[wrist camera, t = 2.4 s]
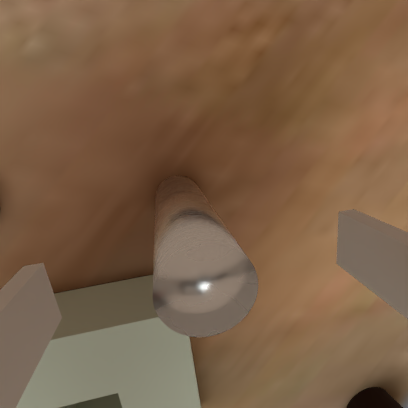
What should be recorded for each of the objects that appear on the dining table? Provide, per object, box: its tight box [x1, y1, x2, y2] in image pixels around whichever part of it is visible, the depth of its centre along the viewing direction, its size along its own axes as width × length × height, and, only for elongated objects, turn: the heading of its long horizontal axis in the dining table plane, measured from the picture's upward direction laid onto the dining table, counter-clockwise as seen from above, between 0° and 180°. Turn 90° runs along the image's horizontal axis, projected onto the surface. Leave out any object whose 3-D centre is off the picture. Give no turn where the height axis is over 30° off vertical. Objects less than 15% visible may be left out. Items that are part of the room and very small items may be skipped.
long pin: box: [153, 176, 258, 337], centre depth 16 cm, size 4×4×14 cm
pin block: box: [16, 275, 201, 408], centre depth 24 cm, size 18×18×6 cm
